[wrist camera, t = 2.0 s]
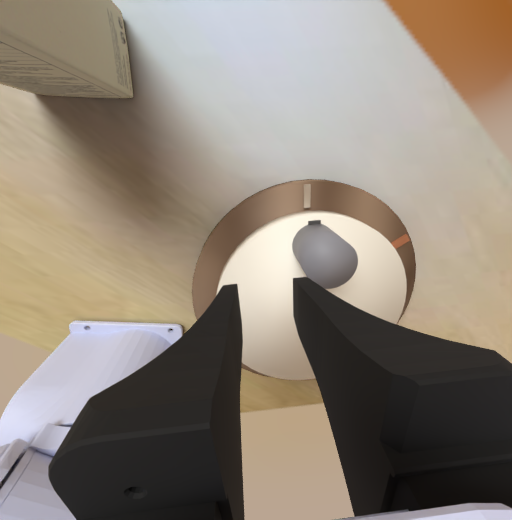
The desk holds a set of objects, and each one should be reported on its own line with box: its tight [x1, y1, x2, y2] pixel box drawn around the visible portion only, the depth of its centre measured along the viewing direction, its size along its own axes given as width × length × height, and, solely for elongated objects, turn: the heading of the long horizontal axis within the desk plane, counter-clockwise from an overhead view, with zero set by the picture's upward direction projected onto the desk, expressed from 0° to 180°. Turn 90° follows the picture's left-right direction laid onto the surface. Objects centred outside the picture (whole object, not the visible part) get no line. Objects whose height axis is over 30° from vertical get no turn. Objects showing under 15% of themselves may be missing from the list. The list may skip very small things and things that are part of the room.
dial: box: [216, 210, 407, 380], centre depth 18 cm, size 15×15×5 cm
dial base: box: [192, 179, 416, 377], centre depth 21 cm, size 19×19×1 cm
